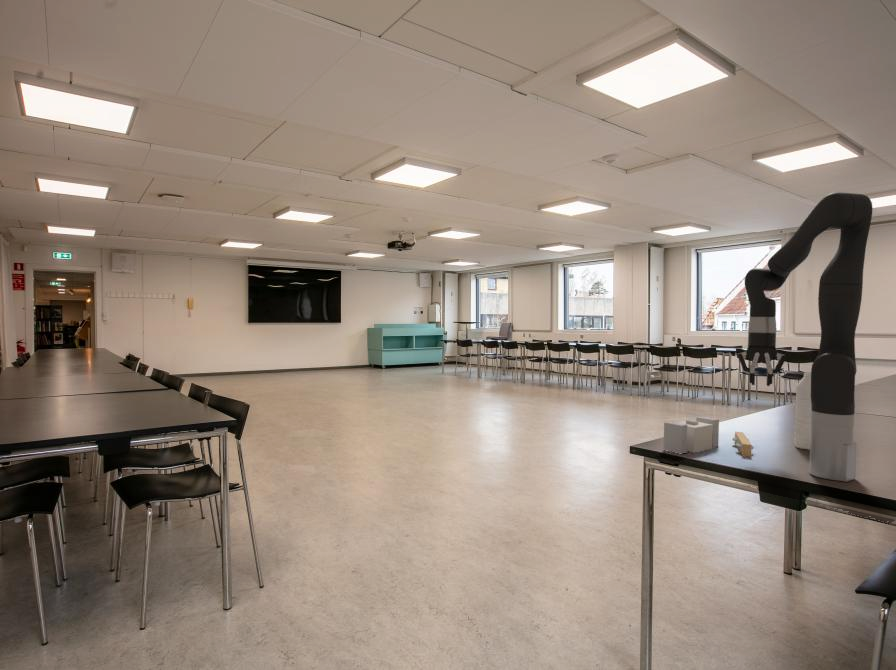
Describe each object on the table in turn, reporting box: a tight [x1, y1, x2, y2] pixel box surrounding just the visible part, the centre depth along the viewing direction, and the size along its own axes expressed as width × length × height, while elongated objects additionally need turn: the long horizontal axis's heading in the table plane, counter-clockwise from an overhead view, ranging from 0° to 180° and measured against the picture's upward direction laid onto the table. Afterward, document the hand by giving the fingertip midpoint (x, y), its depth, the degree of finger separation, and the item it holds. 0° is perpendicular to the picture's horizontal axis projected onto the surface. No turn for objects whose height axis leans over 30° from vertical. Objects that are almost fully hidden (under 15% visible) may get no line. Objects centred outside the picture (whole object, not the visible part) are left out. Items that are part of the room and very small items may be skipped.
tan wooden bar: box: [732, 431, 754, 458], centre depth 166 cm, size 5×20×4 cm, turn 157°
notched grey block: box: [663, 416, 720, 455], centre depth 166 cm, size 8×21×9 cm, turn 123°
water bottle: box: [793, 372, 811, 451], centre depth 169 cm, size 9×6×25 cm
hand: (760, 385), depth 163 cm, fingers open, 3 cm apart
